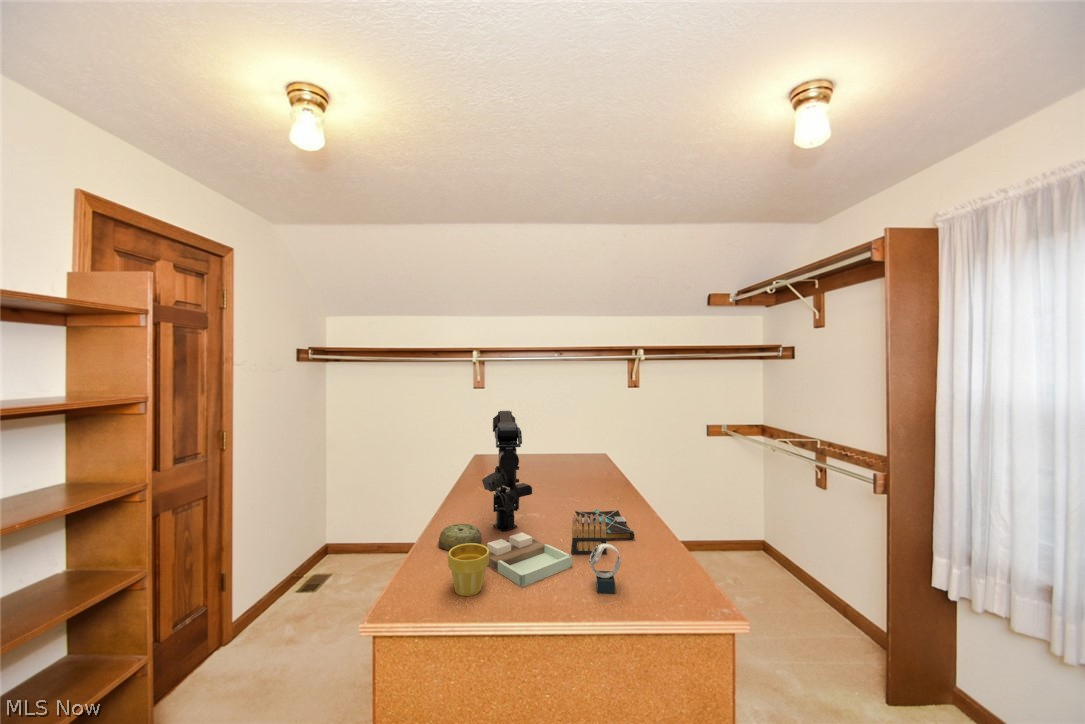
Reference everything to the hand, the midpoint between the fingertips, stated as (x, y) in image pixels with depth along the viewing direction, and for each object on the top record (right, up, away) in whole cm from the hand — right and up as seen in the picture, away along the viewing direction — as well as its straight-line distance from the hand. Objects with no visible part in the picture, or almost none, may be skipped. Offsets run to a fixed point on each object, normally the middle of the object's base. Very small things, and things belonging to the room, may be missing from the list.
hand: (507, 512), depth 139 cm
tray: (+9, -10, -17) cm, 22 cm away
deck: (+2, -10, -9) cm, 14 cm away
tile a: (+5, -8, -5) cm, 10 cm away
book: (+32, -11, +13) cm, 36 cm away
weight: (-15, -11, +1) cm, 19 cm away
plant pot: (-8, -10, -28) cm, 31 cm away
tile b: (-2, -8, -11) cm, 13 cm away
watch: (+27, -10, -28) cm, 40 cm away
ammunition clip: (+25, -10, -7) cm, 28 cm away
